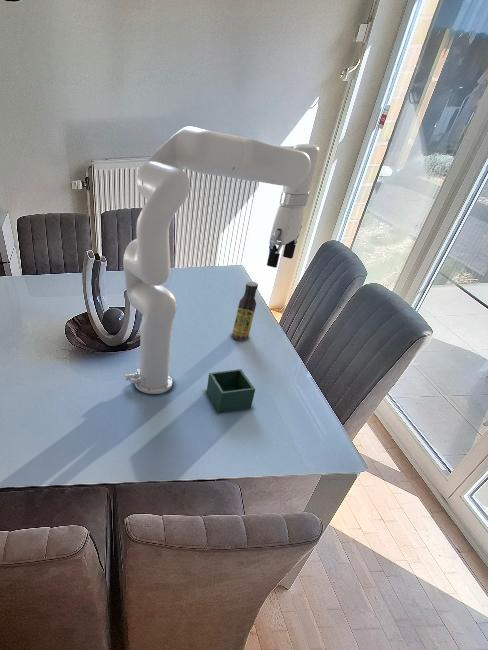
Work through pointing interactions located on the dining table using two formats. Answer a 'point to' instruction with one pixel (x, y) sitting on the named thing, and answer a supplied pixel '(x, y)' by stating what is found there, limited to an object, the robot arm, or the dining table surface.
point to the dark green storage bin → (230, 390)
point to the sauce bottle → (245, 312)
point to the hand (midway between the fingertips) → (279, 261)
